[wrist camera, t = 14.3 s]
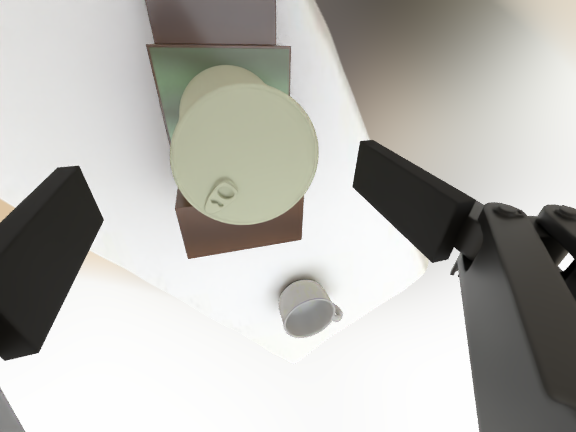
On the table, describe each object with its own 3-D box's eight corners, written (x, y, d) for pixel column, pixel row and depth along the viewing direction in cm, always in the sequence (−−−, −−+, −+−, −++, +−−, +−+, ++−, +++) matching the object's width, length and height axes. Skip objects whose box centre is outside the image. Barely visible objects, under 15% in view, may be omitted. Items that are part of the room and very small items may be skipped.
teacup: (265, 301, 57) (273, 334, 51) (293, 266, 54) (306, 296, 47) (312, 312, 64) (325, 342, 58) (340, 281, 61) (357, 310, 54)
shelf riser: (144, -31, 26) (94, -98, 13) (265, -22, 28) (318, -70, 16) (190, 189, 39) (188, 259, 26) (270, 180, 42) (301, 239, 29)
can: (158, 124, 24) (132, 181, 14) (221, 38, 22) (240, 37, 12) (238, 180, 29) (258, 249, 20) (295, 114, 27) (349, 156, 17)
